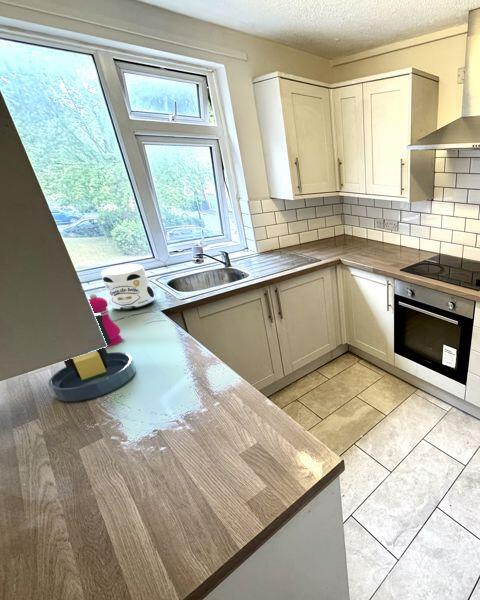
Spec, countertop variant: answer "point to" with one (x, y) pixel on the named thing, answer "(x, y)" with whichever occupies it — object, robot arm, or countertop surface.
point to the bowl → (74, 388)
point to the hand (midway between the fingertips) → (92, 370)
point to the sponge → (90, 366)
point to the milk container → (127, 287)
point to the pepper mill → (106, 318)
